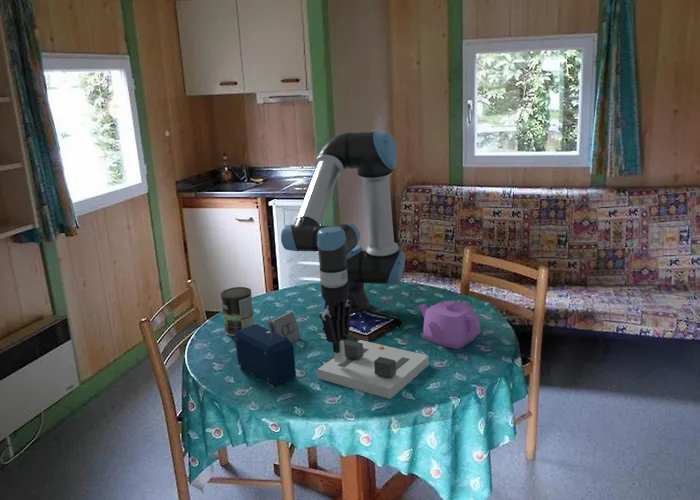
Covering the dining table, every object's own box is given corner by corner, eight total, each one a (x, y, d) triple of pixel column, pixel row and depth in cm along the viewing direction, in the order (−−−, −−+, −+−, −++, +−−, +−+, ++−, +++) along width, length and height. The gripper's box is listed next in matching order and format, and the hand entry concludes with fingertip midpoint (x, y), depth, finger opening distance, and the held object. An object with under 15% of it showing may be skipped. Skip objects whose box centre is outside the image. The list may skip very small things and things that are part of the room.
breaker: (380, 369, 177) (379, 356, 176) (395, 373, 175) (395, 360, 173) (374, 374, 175) (374, 361, 174) (390, 378, 172) (389, 364, 171)
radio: (300, 378, 182) (294, 314, 177) (275, 389, 177) (268, 323, 171) (259, 356, 198) (253, 296, 192) (235, 366, 192) (228, 305, 186)
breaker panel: (360, 348, 199) (359, 338, 198) (428, 365, 185) (428, 354, 185) (318, 378, 182) (317, 368, 181) (390, 399, 168) (389, 388, 167)
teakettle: (483, 348, 194) (483, 310, 191) (428, 352, 194) (427, 314, 190) (470, 326, 211) (469, 291, 207) (419, 330, 210) (418, 295, 206)
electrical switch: (281, 348, 202) (276, 321, 200) (270, 346, 205) (265, 319, 203) (301, 338, 209) (297, 311, 207) (290, 336, 212) (285, 310, 210)
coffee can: (227, 338, 212) (222, 299, 208) (223, 327, 221) (218, 289, 217) (257, 333, 215) (253, 294, 211) (252, 322, 224) (248, 284, 220)
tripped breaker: (349, 352, 189) (348, 340, 188) (363, 355, 186) (362, 343, 185) (343, 356, 187) (342, 343, 185) (357, 359, 184) (357, 347, 183)
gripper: (331, 293, 167) (337, 373, 174) (358, 278, 177) (363, 354, 184) (309, 288, 171) (315, 367, 178) (337, 274, 181) (342, 349, 188)
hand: (340, 361), depth 181 cm, fingers closed
